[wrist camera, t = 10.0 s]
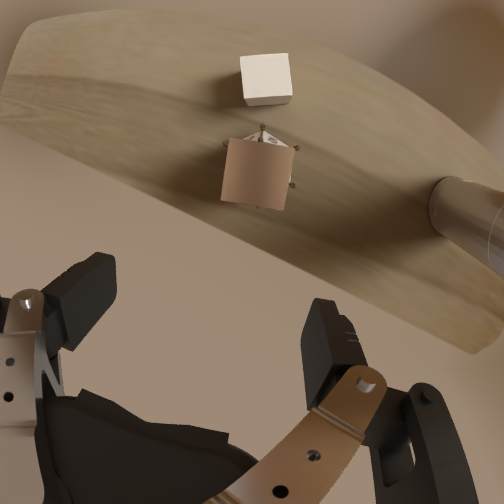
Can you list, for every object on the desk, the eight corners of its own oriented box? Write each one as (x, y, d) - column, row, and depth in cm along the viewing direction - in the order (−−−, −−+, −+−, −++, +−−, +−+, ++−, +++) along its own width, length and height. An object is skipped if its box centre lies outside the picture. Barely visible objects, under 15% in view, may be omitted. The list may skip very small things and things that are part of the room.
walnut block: (289, 147, 25) (295, 148, 20) (280, 197, 27) (283, 210, 21) (238, 139, 25) (229, 137, 20) (231, 188, 27) (220, 200, 21)
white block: (284, 67, 29) (287, 53, 23) (288, 103, 30) (292, 95, 25) (244, 70, 29) (239, 56, 23) (248, 106, 31) (244, 98, 25)
